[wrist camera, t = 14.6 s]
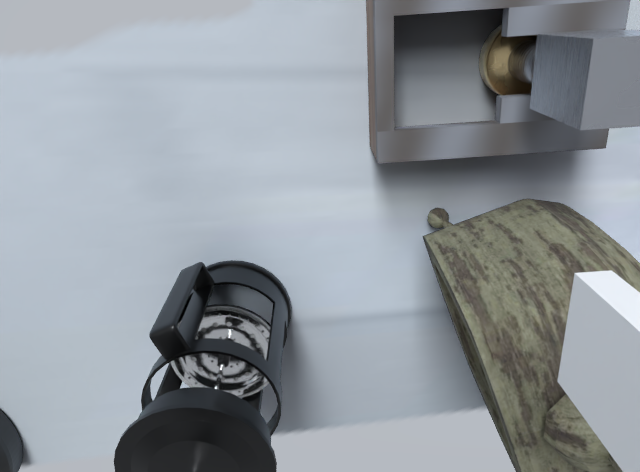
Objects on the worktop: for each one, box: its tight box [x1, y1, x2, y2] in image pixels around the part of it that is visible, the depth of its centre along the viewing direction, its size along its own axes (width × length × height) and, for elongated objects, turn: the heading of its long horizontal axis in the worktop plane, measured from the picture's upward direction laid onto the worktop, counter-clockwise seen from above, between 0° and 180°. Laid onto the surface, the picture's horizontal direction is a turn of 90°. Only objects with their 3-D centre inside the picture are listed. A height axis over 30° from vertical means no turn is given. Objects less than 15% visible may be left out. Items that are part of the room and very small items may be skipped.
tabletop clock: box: [423, 199, 640, 472], centre depth 30 cm, size 14×9×25 cm, turn 22°
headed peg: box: [479, 25, 640, 130], centre depth 29 cm, size 5×5×14 cm
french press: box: [114, 261, 291, 472], centre depth 33 cm, size 12×9×23 cm
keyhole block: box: [366, 0, 630, 163], centre depth 33 cm, size 15×11×5 cm
